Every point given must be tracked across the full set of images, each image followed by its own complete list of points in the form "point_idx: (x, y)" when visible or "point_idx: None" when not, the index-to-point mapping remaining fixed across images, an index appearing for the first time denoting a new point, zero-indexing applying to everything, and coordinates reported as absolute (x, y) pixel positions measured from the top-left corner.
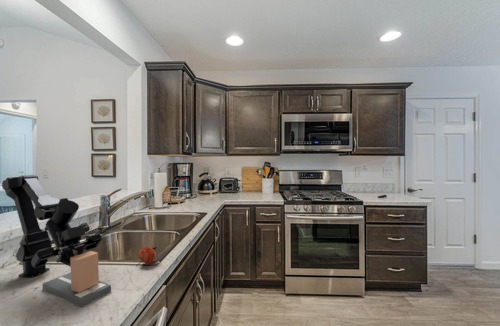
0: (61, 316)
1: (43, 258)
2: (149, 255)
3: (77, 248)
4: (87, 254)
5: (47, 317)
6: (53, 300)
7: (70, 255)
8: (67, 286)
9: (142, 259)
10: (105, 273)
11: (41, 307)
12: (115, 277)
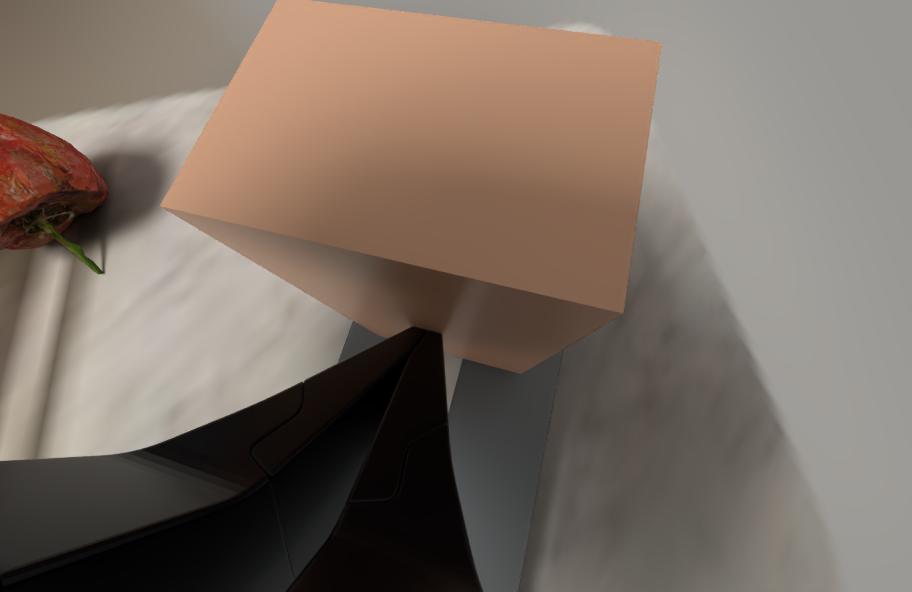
0: (670, 263)
1: None
2: (31, 124)
3: (66, 586)
4: (374, 97)
5: (705, 331)
6: (570, 479)
7: (422, 556)
8: (468, 479)
9: (72, 175)
10: (193, 418)
11: (655, 481)
12: (255, 296)
